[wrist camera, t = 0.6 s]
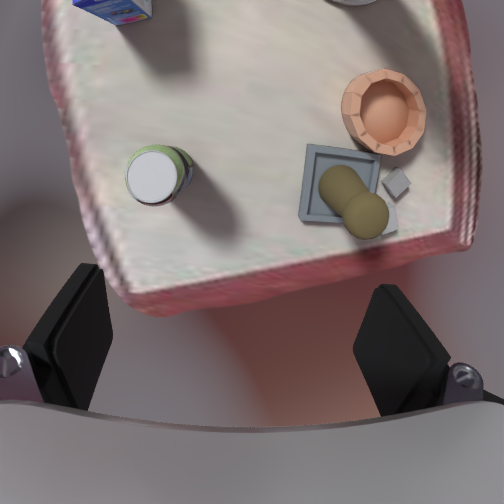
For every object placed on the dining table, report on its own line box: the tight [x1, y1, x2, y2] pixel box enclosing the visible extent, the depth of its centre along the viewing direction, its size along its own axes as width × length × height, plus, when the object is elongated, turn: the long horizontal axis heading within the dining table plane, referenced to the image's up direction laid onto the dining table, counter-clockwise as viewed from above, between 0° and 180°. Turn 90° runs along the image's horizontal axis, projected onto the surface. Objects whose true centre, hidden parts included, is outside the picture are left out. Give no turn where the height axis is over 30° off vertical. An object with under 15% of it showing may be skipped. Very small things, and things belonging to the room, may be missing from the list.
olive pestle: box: [318, 165, 389, 240], centre depth 35 cm, size 6×6×11 cm
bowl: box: [341, 69, 427, 156], centre depth 35 cm, size 11×11×4 cm
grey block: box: [381, 167, 411, 198], centre depth 40 cm, size 3×3×2 cm
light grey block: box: [382, 202, 399, 235], centre depth 42 cm, size 4×3×2 cm
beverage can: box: [125, 145, 193, 206], centre depth 33 cm, size 6×7×12 cm
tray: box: [298, 144, 381, 223], centre depth 40 cm, size 10×10×2 cm
